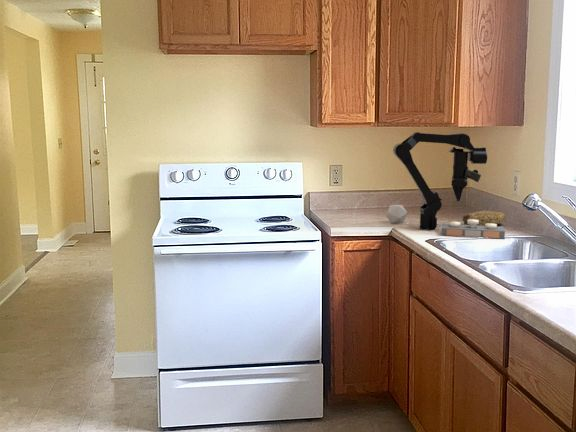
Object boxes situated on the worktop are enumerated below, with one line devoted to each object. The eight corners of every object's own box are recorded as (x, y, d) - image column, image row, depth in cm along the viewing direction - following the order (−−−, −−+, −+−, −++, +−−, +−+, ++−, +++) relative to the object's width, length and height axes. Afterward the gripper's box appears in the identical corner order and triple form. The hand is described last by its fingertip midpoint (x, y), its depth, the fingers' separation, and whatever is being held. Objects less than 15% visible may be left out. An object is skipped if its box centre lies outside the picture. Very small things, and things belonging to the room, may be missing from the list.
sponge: (473, 232, 280) (515, 221, 283) (469, 214, 280) (511, 203, 283) (460, 232, 293) (500, 221, 296) (456, 215, 293) (496, 204, 296)
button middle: (466, 230, 263) (467, 220, 263) (466, 228, 268) (467, 218, 267) (478, 231, 262) (478, 221, 262) (478, 229, 267) (478, 219, 266)
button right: (485, 234, 262) (485, 224, 261) (484, 232, 266) (485, 222, 266) (496, 235, 261) (497, 225, 260) (495, 233, 265) (496, 223, 265)
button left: (448, 232, 265) (449, 222, 265) (448, 230, 270) (449, 221, 269) (460, 233, 264) (460, 223, 264) (459, 231, 269) (460, 221, 268)
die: (404, 222, 297) (392, 204, 298) (414, 215, 289) (401, 196, 290) (391, 231, 293) (378, 212, 294) (401, 224, 285) (388, 205, 286)
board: (441, 235, 263) (441, 228, 262) (441, 230, 274) (442, 223, 273) (504, 239, 257) (505, 231, 257) (502, 234, 268) (503, 226, 267)
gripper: (481, 165, 263) (478, 204, 265) (479, 162, 281) (477, 199, 283) (452, 165, 266) (450, 203, 268) (453, 161, 284) (451, 197, 286)
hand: (458, 200), depth 276 cm, fingers closed
